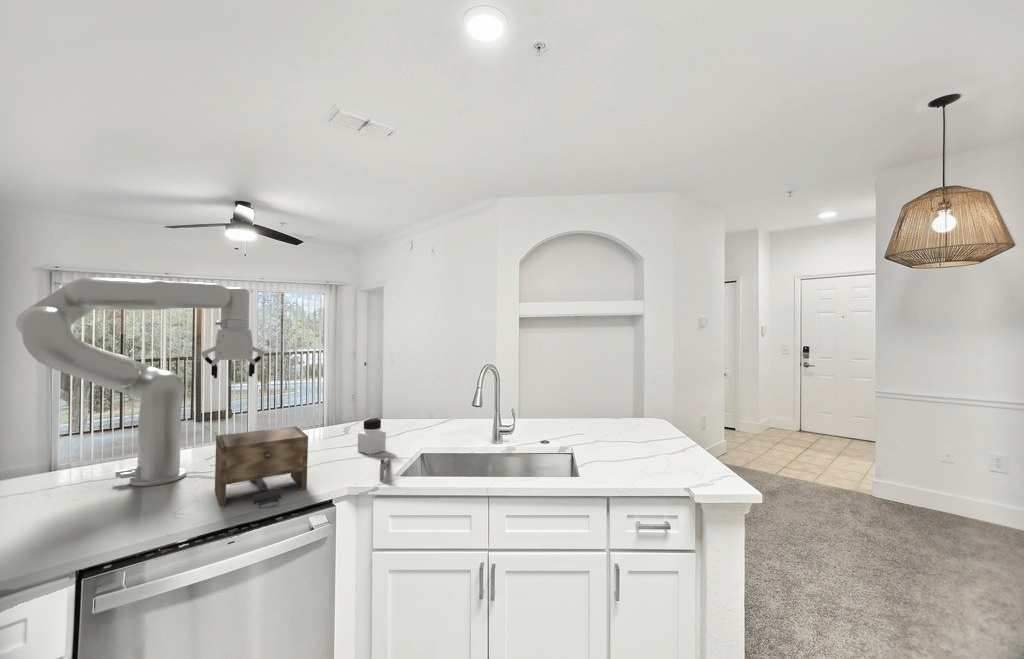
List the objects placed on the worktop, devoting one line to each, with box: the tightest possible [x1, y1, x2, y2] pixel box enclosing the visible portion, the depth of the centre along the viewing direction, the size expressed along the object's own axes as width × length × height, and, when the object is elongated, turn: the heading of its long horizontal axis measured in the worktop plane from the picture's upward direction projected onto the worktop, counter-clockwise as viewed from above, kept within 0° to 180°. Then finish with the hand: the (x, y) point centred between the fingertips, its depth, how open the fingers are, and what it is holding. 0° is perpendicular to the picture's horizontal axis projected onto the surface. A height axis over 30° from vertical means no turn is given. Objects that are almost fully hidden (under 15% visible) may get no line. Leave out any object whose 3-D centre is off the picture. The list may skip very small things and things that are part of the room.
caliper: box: [379, 457, 390, 481], centre depth 134 cm, size 20×1×6 cm, turn 11°
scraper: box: [253, 478, 282, 505], centre depth 118 cm, size 6×28×6 cm, turn 40°
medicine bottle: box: [357, 417, 387, 456], centre depth 153 cm, size 7×7×12 cm
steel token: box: [258, 498, 280, 509], centre depth 106 cm, size 4×4×1 cm
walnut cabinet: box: [214, 426, 309, 508], centre depth 114 cm, size 20×15×15 cm
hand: (233, 377), depth 136 cm, fingers open, 9 cm apart
